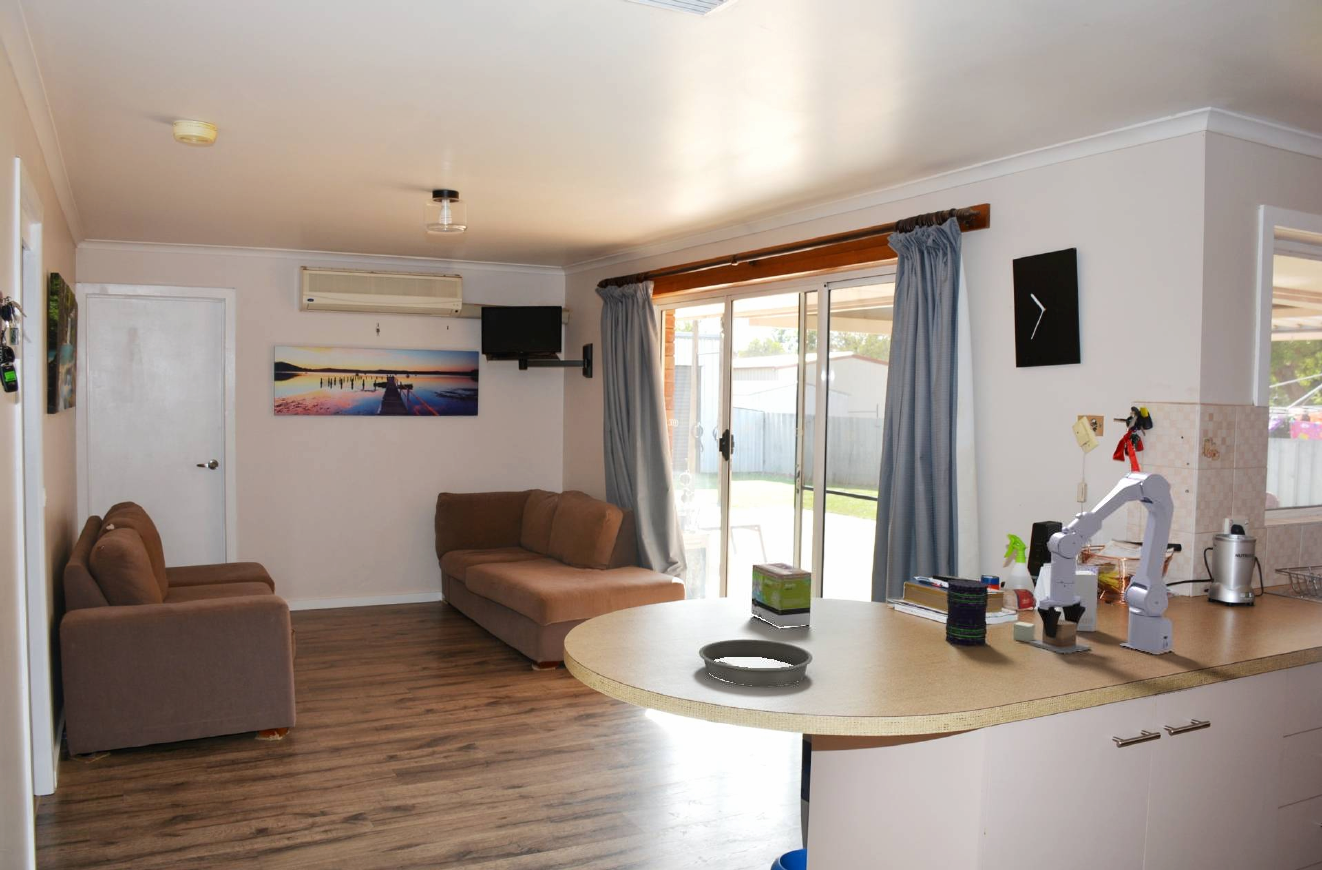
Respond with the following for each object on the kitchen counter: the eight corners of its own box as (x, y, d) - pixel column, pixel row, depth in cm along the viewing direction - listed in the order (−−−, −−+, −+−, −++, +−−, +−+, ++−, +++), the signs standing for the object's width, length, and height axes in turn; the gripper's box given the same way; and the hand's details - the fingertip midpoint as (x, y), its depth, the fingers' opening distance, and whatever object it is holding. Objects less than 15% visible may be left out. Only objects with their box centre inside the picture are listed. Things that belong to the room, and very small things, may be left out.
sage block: (1034, 639, 244) (1035, 624, 243) (1029, 642, 240) (1029, 626, 240) (1018, 636, 246) (1019, 621, 246) (1013, 639, 243) (1014, 624, 243)
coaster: (1090, 649, 234) (1090, 646, 234) (1064, 654, 229) (1064, 651, 229) (1055, 640, 243) (1055, 637, 243) (1029, 644, 238) (1029, 641, 238)
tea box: (749, 617, 260) (751, 563, 259) (780, 614, 264) (782, 561, 263) (778, 629, 246) (780, 573, 246) (811, 627, 250) (813, 571, 250)
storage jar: (988, 648, 233) (991, 588, 232) (947, 645, 235) (949, 585, 234) (983, 638, 243) (985, 580, 242) (943, 635, 244) (945, 578, 244)
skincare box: (1088, 627, 259) (1090, 570, 259) (1097, 632, 253) (1099, 574, 252) (1056, 625, 260) (1059, 569, 260) (1064, 631, 254) (1067, 573, 253)
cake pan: (740, 652, 223) (740, 633, 223) (832, 673, 208) (833, 653, 208) (675, 673, 204) (676, 652, 204) (771, 698, 189) (772, 676, 189)
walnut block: (1075, 645, 235) (1076, 623, 235) (1061, 647, 232) (1062, 625, 232) (1056, 640, 240) (1057, 618, 240) (1042, 642, 237) (1043, 620, 237)
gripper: (1067, 576, 242) (1064, 629, 243) (1029, 580, 235) (1027, 634, 235) (1092, 581, 236) (1089, 635, 237) (1054, 585, 229) (1052, 641, 229)
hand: (1060, 635), depth 236 cm, fingers open, 7 cm apart
